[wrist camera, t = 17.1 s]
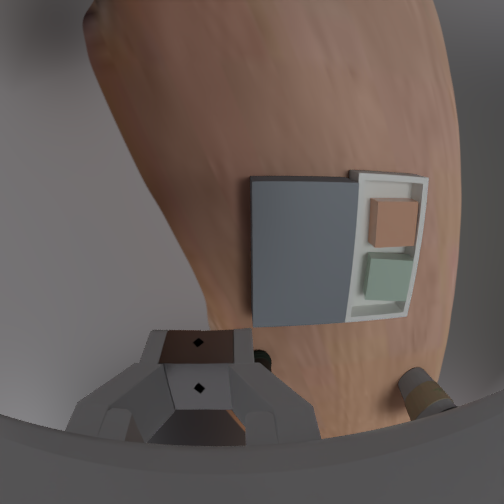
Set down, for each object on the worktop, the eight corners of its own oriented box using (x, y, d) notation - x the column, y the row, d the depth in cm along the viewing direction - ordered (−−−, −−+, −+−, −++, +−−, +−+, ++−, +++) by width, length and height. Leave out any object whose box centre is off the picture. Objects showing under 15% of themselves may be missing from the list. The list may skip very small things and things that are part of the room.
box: (349, 169, 39) (359, 172, 35) (415, 174, 39) (428, 177, 36) (337, 309, 46) (344, 322, 42) (397, 305, 46) (406, 316, 43)
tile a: (418, 201, 37) (409, 197, 40) (378, 201, 37) (370, 197, 39) (414, 245, 39) (405, 240, 42) (374, 247, 39) (367, 241, 42)
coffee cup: (440, 360, 51) (478, 412, 37) (417, 396, 54) (447, 449, 40) (403, 358, 50) (440, 417, 36) (381, 396, 53) (408, 455, 39)
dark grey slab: (250, 176, 39) (252, 181, 34) (345, 177, 39) (359, 182, 34) (251, 307, 45) (253, 327, 40) (335, 304, 45) (344, 322, 41)
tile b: (413, 261, 39) (408, 254, 41) (370, 258, 40) (368, 251, 42) (405, 301, 41) (402, 293, 43) (365, 299, 42) (362, 291, 44)
